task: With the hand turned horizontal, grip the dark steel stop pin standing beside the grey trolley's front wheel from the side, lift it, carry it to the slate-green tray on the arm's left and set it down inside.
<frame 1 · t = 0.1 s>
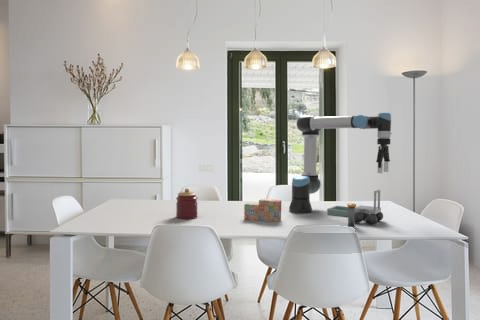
hand: (382, 172, 227), 28 cm above the table, tool pointing down, fingers open, 13 cm apart
stop pin: (351, 225, 203), on the table
tray: (343, 213, 239), on the table
canister: (186, 217, 224), on the table
stack of blocks: (262, 220, 218), on the table
trolley: (367, 221, 214), on the table
chock: (354, 218, 225), on the table
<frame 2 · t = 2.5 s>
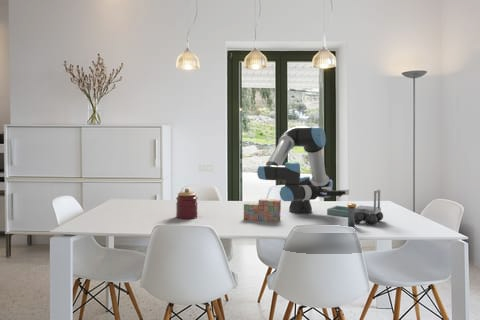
hand: (339, 190, 198), 20 cm above the table, tool horizontal, fingers open, 13 cm apart
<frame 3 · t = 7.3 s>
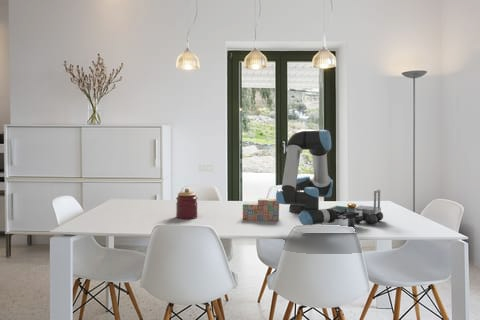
hand: (358, 212, 205), 7 cm above the table, tool horizontal, fingers closed on stop pin, 3 cm apart
stop pin: (351, 225, 203), on the table, touching gripper
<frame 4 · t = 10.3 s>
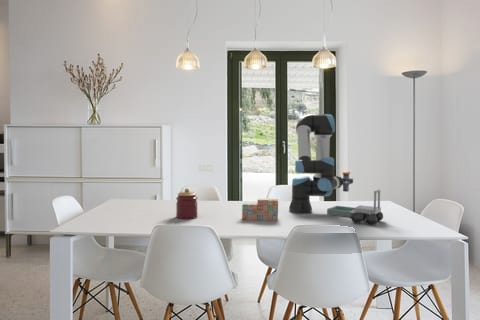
hand: (349, 179, 238), 22 cm above the table, tool horizontal, fingers closed on stop pin, 3 cm apart
stop pin: (345, 191, 234), point 15 cm above the table, touching gripper
when the fingers open (9 cm above the table, at t = 13.2 s): stop pin drops 2 cm, resting on tray.
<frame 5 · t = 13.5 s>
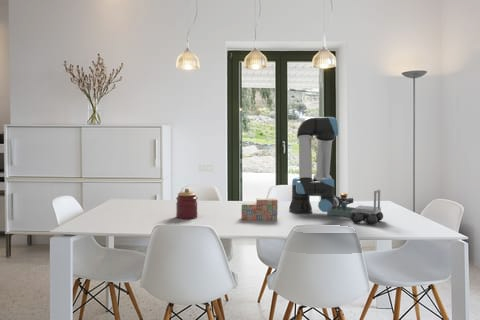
hand: (346, 198, 242), 10 cm above the table, tool horizontal, fingers open, 7 cm apart
stop pin: (343, 212, 239), point 1 cm above the table, touching tray
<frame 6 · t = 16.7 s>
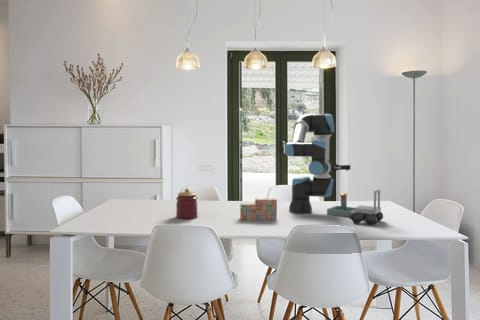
hand: (338, 166, 228), 31 cm above the table, tool horizontal, fingers open, 13 cm apart
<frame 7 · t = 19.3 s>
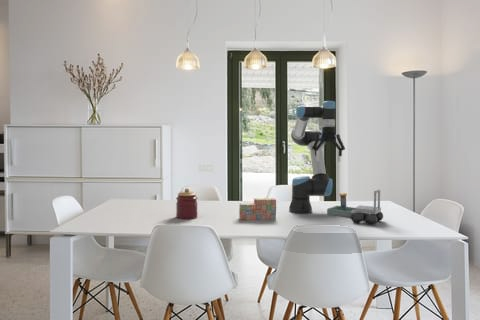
hand: (328, 161, 225), 35 cm above the table, tool pointing down, fingers open, 13 cm apart
at the end: stop pin inside the target area on the tray (0.1 cm from its centre), point 0.8 cm above the tray's base; the gripper is holding nothing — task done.
